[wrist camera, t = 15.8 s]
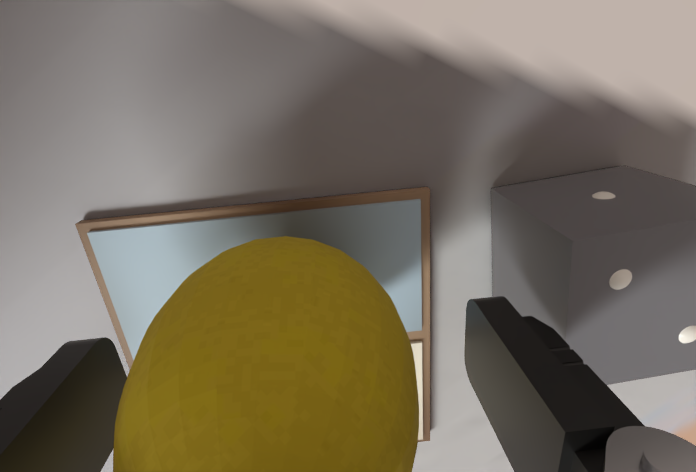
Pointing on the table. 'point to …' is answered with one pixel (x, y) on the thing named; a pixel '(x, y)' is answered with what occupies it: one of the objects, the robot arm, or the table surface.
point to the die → (603, 266)
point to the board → (258, 223)
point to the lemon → (272, 370)
